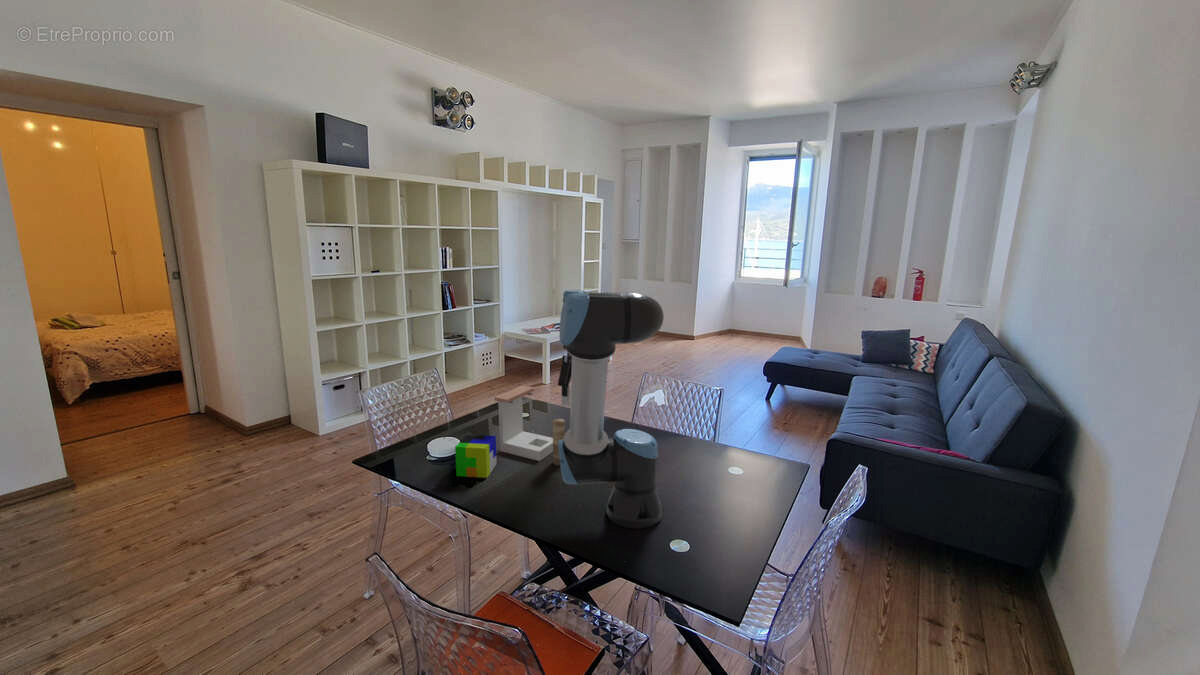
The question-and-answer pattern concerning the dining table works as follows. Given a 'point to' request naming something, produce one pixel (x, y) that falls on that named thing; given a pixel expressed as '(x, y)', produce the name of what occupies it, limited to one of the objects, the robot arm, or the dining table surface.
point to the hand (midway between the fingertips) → (574, 399)
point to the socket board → (528, 446)
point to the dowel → (557, 438)
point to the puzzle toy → (475, 456)
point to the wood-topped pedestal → (511, 412)
